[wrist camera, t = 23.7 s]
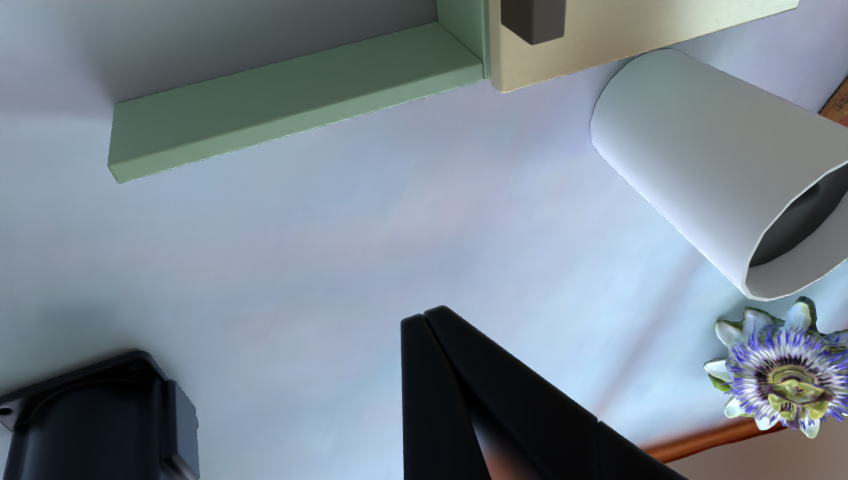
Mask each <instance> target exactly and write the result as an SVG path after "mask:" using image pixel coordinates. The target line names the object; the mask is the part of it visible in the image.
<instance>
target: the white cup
mask: <svg viewBox="0 0 848 480" xmlns="http://www.w3.org/2000/svg"><path fill="white" fill-rule="evenodd" d="M590 131H591V140H592V145H593V146H594V147H595V148H596V150H597V151H598V152H599V154H600V155H601V156H602V157H603V158H604V159H605V160H606V161H607V162H608V163H609V164H610V165H611V166H612V167H613V168H614V169H615V170H616V171H618V172H619V173H620V174H621V175H622V176H623V177H624V178H625V179H626V180H627V181H628V182H629V183H630V184H631V185H632V186H633V187H634V188H635V189H636V190H637V191H638V192H639V193H640V194H641V195H642V196H643V197H644V198H645V199H646V200H647V201H648V202H650V203H651V204H652V205H653V206H654V207H655V208H656V209H657V210H658V211H659V212H660V213H661V214H662V215H663V216H664V217H665V218H666V219H667V220H668V221H669V222H670V223H671V224H672V225H673V226H674V227H675V228H676V229H677V230H678V231H679V232H680V233H682V234H683V235H684V236H685V237H686V238H687V239H688V240H689V241H690V242H691V243H692V244H693V245H694V246H695V247H696V248H697V249H698V250H699V251H700V252H701V253H702V254H703V255H704V256H705V257H706V258H707V259H708V260H709V261H710V262H711V263H712V264H714V265H715V266H716V267H717V268H718V269H719V270H720V271H721V272H722V273H723V274H724V275H725V276H726V277H727V278H728V279H729V280H730V281H731V282H732V283H733V284H734V285H735V286H736V287H737V288H738V289H739V290H740V291H741V292H742V293H743V294H744V295H746V296H747V297H748V298H749V299H752V300H758V301H765V302H769V301H772V300H776V299H779V298H783V297H787V296H790V295H793V294H795V293H797V292H799V291H800V290H802V289H804V288H806V287H808V286H810V285H811V284H813V283H815V282H817V281H819V280H821V279H822V278H823V277H825V276H826V275H827V274H829V273H830V272H831V271H833V270H834V269H835V268H837V267H838V266H839V265H841V264H842V263H843V262H844V261H846V260H847V259H848V128H847V127H845V126H843V125H840V124H838V123H836V122H834V121H832V120H829V119H827V118H825V117H823V116H820V115H818V114H816V113H814V112H812V111H809V110H807V109H805V108H803V107H800V106H798V105H796V104H794V103H792V102H789V101H787V100H785V99H783V98H780V97H778V96H776V95H774V94H772V93H769V92H767V91H765V90H763V89H760V88H758V87H756V86H754V85H752V84H749V83H747V82H745V81H743V80H741V79H738V78H736V77H734V76H732V75H729V74H727V73H725V72H723V71H721V70H718V69H716V68H714V67H712V66H709V65H707V64H705V63H703V62H701V61H698V60H696V59H694V58H692V57H689V56H687V55H685V54H683V53H681V52H678V51H676V50H674V49H661V50H652V51H650V52H648V53H646V54H644V55H642V56H640V57H638V58H636V59H634V60H632V61H630V62H629V63H628V64H627V65H626V66H625V67H624V68H622V69H621V70H620V71H619V72H618V73H617V74H616V75H615V76H614V77H613V78H612V79H611V80H610V81H609V83H608V84H607V86H606V88H605V89H604V91H603V92H602V94H601V96H600V97H599V99H598V100H597V102H596V105H595V108H594V112H593V116H592V119H591V123H590Z"/></svg>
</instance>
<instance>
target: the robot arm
mask: <svg viewBox="0 0 848 480" xmlns="http://www.w3.org/2000/svg"><path fill="white" fill-rule="evenodd" d="M138 361H141V362H138ZM401 368H402V416H403V463H404V480H689V479H687V478H686V477H684V476H682V475H681V474H679V473H677V472H676V471H674V470H673V469H671V468H669V467H668V466H666V465H665V464H663V463H661V462H660V461H658V460H657V459H655V458H653V457H652V456H650V455H649V454H647V453H646V452H644V451H643V450H642V449H640V448H639V447H637V446H636V445H634V444H633V443H632V442H630V441H629V440H627V439H626V438H624V437H623V436H622V435H620V434H619V433H617V432H616V431H615V430H613V429H612V428H611V427H609V426H608V425H607V424H605V423H604V422H603V421H599V422H598V419H597V417H596V416H594V415H593V414H592V413H590V412H589V411H587V410H586V409H585V408H583V407H582V406H581V405H579V404H578V403H577V402H575V401H574V400H573V399H571V398H570V397H569V396H567V395H566V394H564V393H563V392H562V391H560V390H559V389H558V388H556V387H555V386H554V385H552V384H551V383H550V382H548V381H547V380H546V379H544V378H543V377H541V376H540V375H539V374H537V373H536V372H535V371H533V370H532V369H531V368H529V367H528V366H527V365H525V364H524V363H523V362H521V361H520V360H518V359H517V358H516V357H514V356H513V355H512V354H510V353H509V352H508V351H506V350H505V349H504V348H502V347H501V346H500V345H498V344H497V343H495V342H494V341H493V340H491V339H490V338H489V337H487V336H486V335H485V334H483V333H482V332H481V331H479V330H478V329H477V328H475V327H474V326H472V325H471V324H470V323H468V322H467V321H466V320H464V319H463V318H462V317H460V316H459V315H458V314H456V313H455V312H454V311H452V310H451V309H450V308H448V307H447V306H444V305H441V306H438V307H435V308H432V309H429V310H427V311H425V312H424V313H423V315H422V314H416V315H413V316H410V317H407V318H405V319H403V320H402V321H401ZM0 423H1V424H3V425H4V426H5V427H6V428H7V429H9V430H10V431H11V432H12V433H13V434H12V438H11V443H10V448H9V452H8V457H7V461H6V466H5V471H4V475H3V480H199V478H200V473H199V457H198V441H197V429H198V419H197V417H196V410H195V407H194V405H193V404H192V403H191V401H190V400H189V399H188V397H187V396H186V395H185V393H184V392H183V390H182V389H181V388H180V386H179V385H178V384H177V382H176V381H174V380H172V379H168V378H167V377H166V375H165V374H164V373H163V371H162V370H161V369H160V367H159V366H158V365H157V363H156V362H155V361H154V359H153V358H152V357H151V355H150V354H149V353H148V352H145V351H135V352H131V353H128V354H125V355H122V356H119V357H117V358H114V359H111V360H108V361H105V362H102V363H99V364H96V365H93V366H90V367H87V368H84V369H81V370H78V371H75V372H73V373H70V374H67V375H64V376H61V377H58V378H55V379H52V380H49V381H46V382H43V383H40V384H37V385H34V386H31V387H28V388H26V389H23V390H20V391H17V392H14V393H11V394H8V395H5V396H2V397H0Z"/></svg>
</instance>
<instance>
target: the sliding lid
mask: <svg viewBox="0 0 848 480" xmlns="http://www.w3.org/2000/svg"><path fill="white" fill-rule="evenodd" d="M799 1H800V0H489V31H490V64H491V84H492V86H493V87H495V88H496V89H497V90H498V91H499V92H500V93H507V92H510V91H514V90H517V89H521V88H524V87H528V86H531V85H535V84H538V83H541V82H545V81H548V80H552V79H555V78H559V77H562V76H566V75H569V74H572V73H576V72H579V71H583V70H586V69H590V68H593V67H596V66H600V65H603V64H607V63H610V62H614V61H617V60H621V59H624V58H627V57H631V56H634V55H638V54H641V53H645V52H648V51H652V50H655V49H658V48H662V47H665V46H669V45H672V44H676V43H679V42H683V41H686V40H689V39H693V38H696V37H700V36H703V35H707V34H710V33H714V32H717V31H720V30H724V29H727V28H731V27H734V26H738V25H741V24H745V23H748V22H751V21H755V20H758V19H762V18H765V17H769V16H772V15H775V14H779V13H782V12H786V11H789V10H793V9H796V8H797V7H798V4H799Z"/></svg>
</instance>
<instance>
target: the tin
mask: <svg viewBox="0 0 848 480" xmlns="http://www.w3.org/2000/svg"><path fill="white" fill-rule="evenodd" d="M819 115H820V116H823V117H825V118H827V119H829V120H832V121H834V122H836V123H838V124H840V125H843V126H845V127H847V128H848V78H847V79H846V81H845V82H844V83H843V84H842V86H841V87H840V88H839V90H838V91H837V92H836V93H835V94H834V96H833V97H832V98H831V100H830V101H829V102H828V103H827V105H826V106H825V107H824V109H823V110H822V111H821V113H820V114H819Z"/></svg>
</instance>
